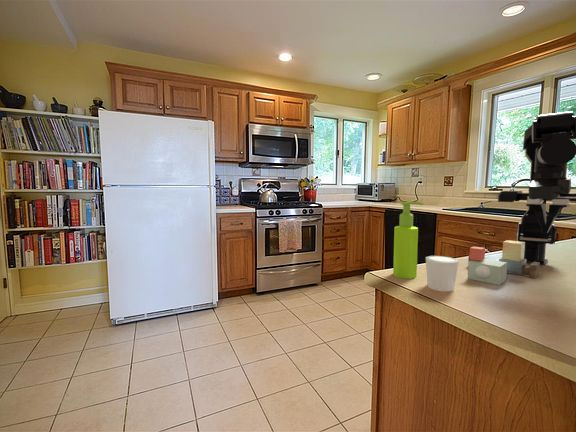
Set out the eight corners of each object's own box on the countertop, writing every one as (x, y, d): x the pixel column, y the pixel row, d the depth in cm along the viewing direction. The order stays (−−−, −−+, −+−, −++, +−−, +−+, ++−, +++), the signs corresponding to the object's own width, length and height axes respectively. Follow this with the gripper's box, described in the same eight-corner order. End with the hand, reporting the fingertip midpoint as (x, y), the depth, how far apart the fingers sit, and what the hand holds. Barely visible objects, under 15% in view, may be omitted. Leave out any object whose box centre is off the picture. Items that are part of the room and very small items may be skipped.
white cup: (430, 280, 73) (431, 253, 73) (461, 287, 68) (462, 258, 68) (420, 287, 69) (421, 258, 68) (452, 294, 64) (453, 263, 63)
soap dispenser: (423, 279, 74) (425, 202, 73) (395, 277, 76) (397, 202, 74) (417, 272, 80) (420, 201, 78) (391, 271, 82) (393, 201, 80)
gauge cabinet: (475, 273, 79) (476, 257, 78) (506, 279, 73) (507, 262, 73) (467, 278, 75) (468, 261, 74) (498, 285, 69) (499, 266, 69)
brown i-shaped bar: (468, 266, 86) (468, 255, 86) (473, 263, 89) (474, 252, 89) (535, 278, 74) (536, 265, 74) (538, 274, 77) (539, 262, 77)
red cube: (473, 257, 77) (473, 246, 77) (484, 259, 75) (485, 247, 75) (469, 259, 76) (470, 247, 75) (481, 260, 74) (481, 249, 73)
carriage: (498, 270, 80) (500, 241, 79) (503, 267, 83) (505, 239, 82) (521, 274, 76) (523, 244, 75) (525, 270, 79) (527, 242, 79)
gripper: (493, 168, 70) (489, 232, 72) (606, 163, 56) (599, 242, 58) (506, 170, 77) (502, 227, 79) (609, 165, 63) (603, 235, 65)
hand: (545, 232), depth 70 cm, fingers closed
